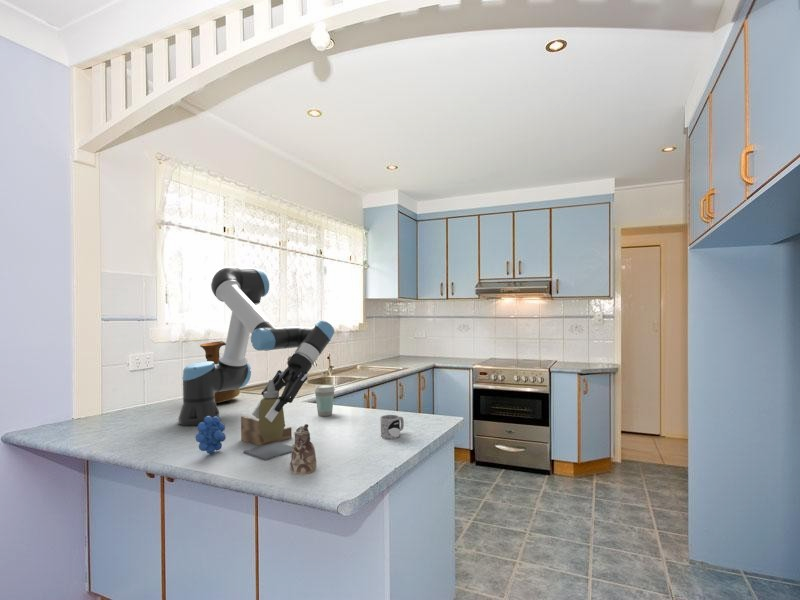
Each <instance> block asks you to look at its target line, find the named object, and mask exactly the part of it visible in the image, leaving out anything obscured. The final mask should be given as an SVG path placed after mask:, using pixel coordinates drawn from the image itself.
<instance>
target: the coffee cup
mask: <svg viewBox="0 0 800 600" xmlns="http://www.w3.org/2000/svg"><path fill="white" fill-rule="evenodd" d="M335 391H336V389H335V386H334V385H332V384H318V385H316V386H315V388H314V394H315V402H316V409H317V410H316V411H317V415H320V416H319V417H328V416H327V415H330V416H332V415H333V407H334V406H333V405H334V397H335ZM331 414H332V415H331Z"/></svg>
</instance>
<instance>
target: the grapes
mask: <svg viewBox="0 0 800 600" xmlns="http://www.w3.org/2000/svg"><path fill="white" fill-rule="evenodd" d="M225 429H226V426H225V424H224V423H222V422H221V419H220V417H219V418H218V417H217V416H214V417H213V418H212V417H210V416H206V417H205V418H204V422H201V423H199V424H198V425H197V431H198V432H197V433H196V435H195V438H194V439H195V440H196V442H198V443H199V444H198V448H199V450H200V451H201V452H206V453H207V454H208V455H213V454H214V453H215V452H216V451H220V450H221V449H222V446H223V445H222V443H223V442H224V441H225V440H226V439H227V436H226V434H225V432H224V431H225Z"/></svg>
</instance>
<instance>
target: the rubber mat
mask: <svg viewBox="0 0 800 600" xmlns="http://www.w3.org/2000/svg"><path fill="white" fill-rule="evenodd" d="M292 446H293V445H288V444H285V443H282V442H280V441H278V442H273V443H270V444H266V445H263V446H259V445H258V446H256V447H252V448H249V449H245V450H243V452H242V453H244V454H246V455H249V456H252V457H254V458H257V459H260V460H263V461H269V460H271V459H275V458H278V457H280V456H284V455H287V454H290V453H291V454H292V448H293V447H292Z"/></svg>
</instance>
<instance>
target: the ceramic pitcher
mask: <svg viewBox="0 0 800 600" xmlns="http://www.w3.org/2000/svg"><path fill="white" fill-rule="evenodd" d="M199 346H200V348H202V349H203V350H204V352H205V359H206V361H212V362H214V364H218V361H219V357H220V356H221V355H220V351H221V348H222V346H224V347H225V346H226V341H223V340H219V341H212V342H205V343H202V344H200V345H199ZM240 394H241V388H238V389H235V390H226V391H221V392H215V403H216V404H218V403H219V404H220V403H222V402H223V403H224V402H226V401H231V400H232V399H234V398H236V397H238V396H239V395H240Z"/></svg>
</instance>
